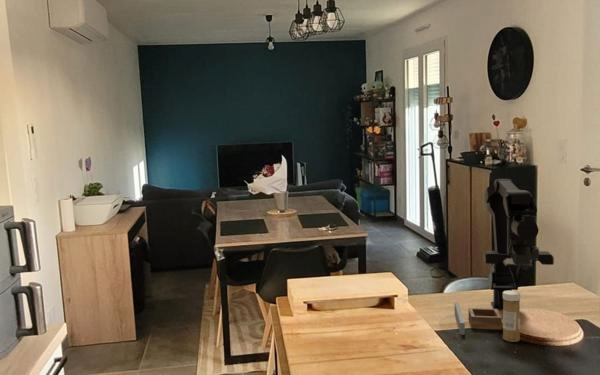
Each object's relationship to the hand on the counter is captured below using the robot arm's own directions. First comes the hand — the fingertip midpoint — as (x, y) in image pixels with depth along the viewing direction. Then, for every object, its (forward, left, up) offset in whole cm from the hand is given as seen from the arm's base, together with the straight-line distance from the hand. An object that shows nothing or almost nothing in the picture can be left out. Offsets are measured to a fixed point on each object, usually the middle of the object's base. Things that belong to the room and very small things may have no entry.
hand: (517, 286), depth 162 cm
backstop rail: (0, -17, -12) cm, 20 cm away
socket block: (0, -9, -12) cm, 15 cm away
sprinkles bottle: (+12, -4, -12) cm, 17 cm away
